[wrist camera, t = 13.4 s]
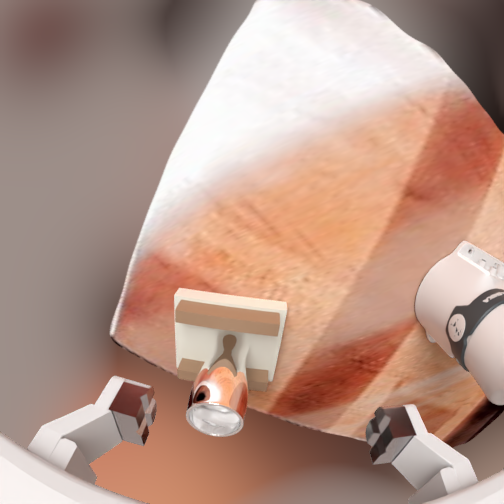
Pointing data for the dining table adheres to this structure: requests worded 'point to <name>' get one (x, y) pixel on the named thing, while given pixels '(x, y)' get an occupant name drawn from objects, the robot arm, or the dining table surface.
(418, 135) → the dining table surface
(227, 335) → the beer glass
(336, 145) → the dining table surface
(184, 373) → the stand
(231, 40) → the dining table surface
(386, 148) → the dining table surface
